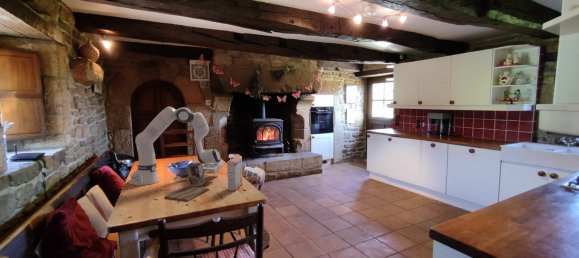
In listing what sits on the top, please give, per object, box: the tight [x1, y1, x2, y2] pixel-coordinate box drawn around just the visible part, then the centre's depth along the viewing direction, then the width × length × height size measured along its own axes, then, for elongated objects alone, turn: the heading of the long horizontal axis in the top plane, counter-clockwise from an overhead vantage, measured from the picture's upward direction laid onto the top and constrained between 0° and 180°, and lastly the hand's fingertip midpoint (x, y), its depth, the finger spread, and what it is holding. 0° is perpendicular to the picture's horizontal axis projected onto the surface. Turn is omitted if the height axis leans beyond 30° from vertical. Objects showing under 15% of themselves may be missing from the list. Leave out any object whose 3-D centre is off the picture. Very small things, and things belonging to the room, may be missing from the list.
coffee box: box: [186, 162, 206, 187], centre depth 200 cm, size 9×6×16 cm
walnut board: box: [164, 185, 210, 202], centre depth 183 cm, size 18×22×1 cm
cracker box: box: [226, 156, 243, 192], centre depth 195 cm, size 14×6×21 cm, turn 170°
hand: (198, 172), depth 203 cm, fingers open, 8 cm apart
